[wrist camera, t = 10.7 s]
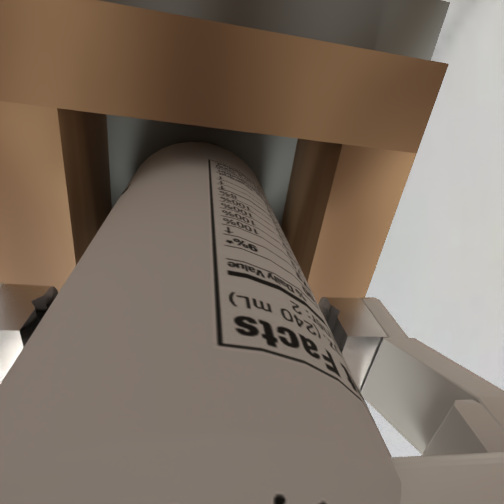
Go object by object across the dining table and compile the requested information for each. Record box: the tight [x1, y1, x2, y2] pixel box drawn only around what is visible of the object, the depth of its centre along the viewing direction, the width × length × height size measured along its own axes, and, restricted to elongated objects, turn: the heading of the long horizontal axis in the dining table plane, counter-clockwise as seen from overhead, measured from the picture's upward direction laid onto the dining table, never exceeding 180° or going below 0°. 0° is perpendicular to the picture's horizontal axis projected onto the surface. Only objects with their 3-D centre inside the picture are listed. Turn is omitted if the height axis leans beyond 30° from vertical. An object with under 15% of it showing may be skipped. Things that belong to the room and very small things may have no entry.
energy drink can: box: [0, 142, 402, 504], centre depth 9 cm, size 6×6×15 cm
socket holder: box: [0, 0, 450, 304], centre depth 14 cm, size 18×18×6 cm
